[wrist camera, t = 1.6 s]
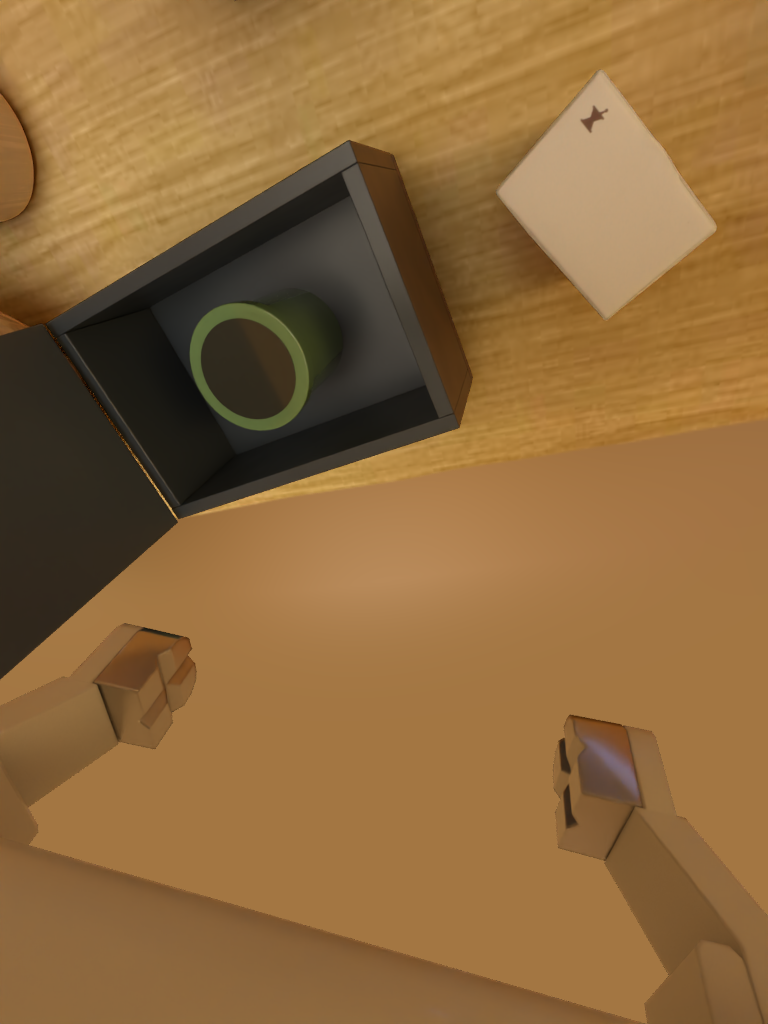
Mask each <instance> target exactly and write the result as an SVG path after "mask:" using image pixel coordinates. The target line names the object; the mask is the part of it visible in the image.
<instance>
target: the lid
mask: <svg viewBox="0 0 768 1024" xmlns="http://www.w3.org/2000/svg"><path fill="white" fill-rule="evenodd" d="M176 523H178V522H177V520H176V518H175V517H174V515H173V514H172V513H171V511H170V510H169V508H168V507H167V505H166V504H165V502H164V501H163V499H162V498H161V496H160V495H159V494H158V492H157V491H156V489H155V488H154V486H153V485H152V483H151V482H150V480H149V479H148V477H147V476H146V475H145V473H144V472H143V470H142V469H141V467H140V466H139V464H138V463H137V461H136V460H135V458H134V457H133V456H132V454H131V453H130V451H129V450H128V448H127V447H126V445H125V444H124V442H123V441H122V439H121V438H120V436H119V435H118V434H117V432H116V431H115V429H114V428H113V426H112V425H111V423H110V422H109V420H108V419H107V417H106V416H105V415H104V413H103V412H102V410H101V409H100V407H99V406H98V404H97V403H96V401H95V400H94V398H93V397H92V396H91V394H90V393H89V391H88V390H87V388H86V387H85V385H84V384H83V382H82V381H81V379H80V378H79V377H78V375H77V374H76V372H75V371H74V369H73V368H72V366H71V365H70V363H69V362H68V360H67V359H66V358H65V356H64V355H63V353H62V352H61V350H60V349H59V347H58V346H57V344H56V343H55V341H54V340H53V339H52V337H51V336H50V334H49V333H48V331H47V330H46V328H45V327H44V325H43V324H38V325H35V326H31V327H28V328H24V329H21V330H17V331H14V332H11V333H7V334H4V335H0V679H1V678H3V676H4V675H6V674H7V673H8V672H9V671H10V670H12V669H13V668H14V667H15V666H16V665H17V664H18V663H19V662H21V661H22V660H23V659H24V658H25V657H26V656H27V655H29V654H30V653H31V652H32V651H33V650H34V649H35V648H36V647H38V646H39V645H40V644H41V643H42V642H43V641H44V640H45V639H46V638H48V637H49V636H50V635H51V634H52V633H53V632H55V631H56V630H57V629H58V628H59V627H60V626H61V625H62V624H63V623H64V622H66V621H67V620H68V619H69V618H70V617H71V616H73V615H74V614H75V613H76V612H77V611H78V610H79V609H81V608H82V607H83V606H84V605H85V604H86V603H87V602H88V601H89V600H91V599H92V598H93V597H94V596H95V595H96V594H97V593H99V592H100V591H101V590H102V589H103V588H104V587H105V586H106V585H108V584H109V583H110V582H111V581H112V580H113V579H114V578H115V577H117V576H118V575H119V574H120V573H121V572H122V571H123V570H125V569H126V568H127V567H128V566H129V565H130V564H131V563H132V562H134V561H135V560H136V559H137V558H138V557H139V556H140V555H142V554H143V553H144V552H145V551H146V550H147V549H148V548H149V547H151V545H153V544H154V543H155V542H156V541H157V540H158V539H160V538H161V537H162V536H163V535H164V534H165V533H166V532H167V531H169V530H170V529H171V528H172V527H173V526H174V525H175V524H176Z"/></svg>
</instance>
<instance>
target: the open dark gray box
mask: <svg viewBox="0 0 768 1024" xmlns="http://www.w3.org/2000/svg"><path fill="white" fill-rule="evenodd" d="M285 288H297V289H302V290H305V291H308V292H310V293H312V294H314V295H316V296H317V297H319V298H320V299H321V300H322V301H324V302H325V303H326V304H327V305H328V307H329V308H330V309H331V310H332V312H333V313H334V315H335V317H336V319H337V320H338V323H339V325H340V328H341V332H342V338H343V351H342V356H341V360H340V362H339V365H338V367H337V368H336V370H335V371H334V373H333V374H332V375H331V376H330V377H329V378H328V379H327V380H326V381H325V382H324V383H323V384H322V385H320V386H319V387H318V388H317V389H316V390H315V391H314V392H313V393H312V394H311V395H310V398H309V400H308V402H307V404H306V406H305V407H304V408H303V410H302V411H301V412H300V413H299V414H298V415H297V416H296V417H295V418H294V419H293V420H292V421H290V422H289V423H287V424H286V425H284V426H282V427H280V428H276V429H273V430H265V431H258V430H251V429H247V428H243V427H240V426H238V425H236V424H234V423H232V422H230V421H228V420H227V419H225V418H224V417H222V416H221V415H220V414H219V413H217V412H216V411H215V410H214V409H213V408H212V407H211V406H210V405H209V403H208V402H207V401H206V400H205V398H204V397H203V395H202V394H201V392H200V390H199V388H198V386H197V384H196V382H195V379H194V377H193V373H192V370H191V364H190V343H191V339H192V335H193V333H194V330H195V328H196V326H197V324H198V323H199V321H200V320H201V319H202V318H203V316H204V315H206V314H207V313H208V312H209V311H211V310H212V309H214V308H216V307H218V306H220V305H223V304H226V303H229V302H233V301H241V300H246V301H252V300H254V299H257V298H260V297H262V296H265V295H267V294H270V293H272V292H275V291H278V290H281V289H285ZM46 325H47V327H48V328H49V330H50V331H51V333H52V334H53V336H54V337H55V338H57V341H58V342H59V344H60V345H61V347H62V348H63V350H64V351H65V353H66V354H67V356H68V357H69V359H70V360H71V362H72V363H73V364H74V366H75V367H76V369H77V370H78V372H79V373H80V375H81V376H82V378H83V379H84V381H85V382H86V384H87V385H88V386H89V388H90V389H91V391H92V392H93V394H94V395H95V397H96V398H97V400H98V401H99V403H100V404H101V406H102V407H103V408H104V410H105V411H106V413H107V414H108V416H109V417H110V419H111V420H112V422H113V423H114V425H115V426H116V428H117V429H118V431H119V432H120V433H121V435H122V436H123V438H124V439H125V441H126V442H127V444H128V445H129V447H130V448H131V450H132V451H133V453H134V454H135V455H136V457H137V458H138V460H139V461H140V463H141V464H142V466H143V467H144V469H145V470H146V472H147V473H148V475H149V476H150V477H151V479H152V480H153V482H154V483H155V485H156V486H157V488H158V489H159V491H160V492H161V494H162V495H163V497H164V498H165V500H166V501H167V502H168V504H169V505H170V507H171V508H172V510H173V512H174V513H175V515H176V516H177V518H178V519H181V518H184V517H187V516H190V515H193V514H196V513H199V512H202V511H205V510H208V509H211V508H215V507H218V506H221V505H224V504H227V503H230V502H233V501H236V500H239V499H242V498H245V497H248V496H251V495H255V494H258V493H261V492H264V491H267V490H270V489H273V488H276V487H279V486H282V485H285V484H288V483H291V482H294V481H298V480H301V479H304V478H307V477H310V476H313V475H316V474H319V473H322V472H325V471H328V470H331V469H334V468H338V467H341V466H344V465H347V464H350V463H353V462H356V461H359V460H362V459H365V458H368V457H371V456H374V455H378V454H381V453H384V452H387V451H390V450H393V449H396V448H399V447H402V446H405V445H408V444H411V443H414V442H418V441H421V440H424V439H427V438H430V437H433V436H436V435H439V434H442V433H445V432H448V431H451V430H454V429H457V428H460V424H461V420H462V417H463V413H464V409H465V406H466V402H467V398H468V394H469V391H470V387H471V383H472V378H473V377H472V374H471V371H470V368H469V365H468V363H467V360H466V357H465V354H464V351H463V349H462V346H461V343H460V340H459V337H458V335H457V332H456V329H455V326H454V323H453V321H452V318H451V315H450V312H449V309H448V307H447V304H446V301H445V298H444V295H443V293H442V290H441V287H440V284H439V281H438V279H437V276H436V273H435V270H434V267H433V265H432V262H431V259H430V256H429V253H428V251H427V248H426V245H425V242H424V239H423V237H422V234H421V231H420V228H419V225H418V223H417V220H416V217H415V214H414V211H413V209H412V206H411V203H410V200H409V197H408V195H407V192H406V189H405V186H404V183H403V181H402V178H401V175H400V172H399V169H398V167H397V164H396V161H395V158H394V156H393V155H392V154H390V153H387V152H384V151H381V150H378V149H375V148H372V147H369V146H366V145H362V144H359V143H356V142H353V141H350V140H348V141H346V142H345V143H343V144H341V145H340V146H338V147H336V148H335V149H333V150H332V151H330V152H328V153H327V154H325V155H323V156H322V157H320V158H318V159H317V160H315V161H313V162H312V163H310V164H308V165H307V166H305V167H303V168H302V169H300V170H299V171H297V172H295V173H294V174H292V175H290V176H289V177H287V178H285V179H284V180H282V181H280V182H279V183H277V184H275V185H274V186H272V187H270V188H269V189H267V190H266V191H264V192H262V193H261V194H259V195H257V196H256V197H254V198H252V199H251V200H249V201H247V202H246V203H244V204H242V205H241V206H239V207H237V208H236V209H234V210H233V211H231V212H229V213H228V214H226V215H224V216H223V217H221V218H219V219H218V220H216V221H214V222H213V223H211V224H209V225H208V226H206V227H204V228H203V229H201V230H200V231H198V232H196V233H195V234H193V235H191V236H190V237H188V238H186V239H185V240H183V241H181V242H180V243H178V244H176V245H175V246H173V247H171V248H170V249H168V250H167V251H165V252H163V253H162V254H160V255H158V256H157V257H155V258H153V259H152V260H150V261H148V262H147V263H145V264H143V265H142V266H140V267H138V268H137V269H135V270H134V271H132V272H130V273H129V274H127V275H125V276H124V277H122V278H120V279H119V280H117V281H115V282H114V283H112V284H110V285H109V286H107V287H105V288H104V289H102V290H101V291H99V292H97V293H96V294H94V295H92V296H91V297H89V298H87V299H86V300H84V301H82V302H81V303H79V304H77V305H76V306H74V307H72V308H71V309H69V310H68V311H66V312H64V313H63V314H61V315H59V316H58V317H56V318H54V319H53V320H51V321H49V322H48V323H46Z"/></svg>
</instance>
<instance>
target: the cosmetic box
mask: <svg viewBox="0 0 768 1024" xmlns="http://www.w3.org/2000/svg"><path fill="white" fill-rule="evenodd" d="M496 195H497V196H498V197H499V198H500V200H501V201H502V202H503V203H504V205H505V206H506V207H507V208H508V210H509V211H510V212H511V214H512V215H513V216H514V217H515V219H516V220H517V221H518V222H519V224H520V225H521V226H522V227H523V228H524V230H525V231H526V232H527V233H528V234H529V236H530V237H531V238H532V239H533V240H534V241H535V242H536V243H537V245H538V246H539V247H540V248H541V249H542V250H543V251H544V252H545V254H546V255H547V256H548V257H549V258H550V259H551V260H552V261H553V263H554V264H555V265H556V266H557V267H558V268H559V269H560V270H561V271H562V273H563V274H564V275H565V276H566V277H567V278H568V280H569V281H570V282H571V283H572V284H573V285H574V286H575V287H576V288H577V290H578V291H579V292H580V293H581V294H582V295H583V296H584V298H585V299H586V300H587V301H588V302H589V303H590V304H591V305H592V307H593V308H594V309H595V310H596V311H597V312H598V314H599V315H600V316H601V317H602V318H603V319H604V320H608V319H610V318H611V317H612V316H613V315H614V314H616V313H617V312H618V311H619V310H621V309H622V308H623V307H624V306H626V305H627V304H628V303H629V302H631V301H632V300H633V299H634V298H635V297H637V296H638V295H639V294H640V293H642V292H643V291H644V290H645V289H646V288H648V287H649V286H650V285H651V284H653V283H654V282H655V281H656V280H657V279H659V278H660V277H661V276H662V275H664V274H665V273H666V272H667V271H669V270H670V269H671V268H672V267H674V266H675V265H676V264H677V263H679V262H680V261H681V260H682V259H683V258H685V257H686V256H687V255H688V254H689V253H691V252H692V251H693V250H694V249H695V248H697V247H698V246H699V245H700V244H701V243H703V242H704V241H705V240H706V239H708V238H709V237H710V236H711V235H713V234H714V233H715V232H716V229H717V226H716V223H715V221H714V220H713V218H712V217H711V216H710V214H709V213H708V212H707V210H706V209H705V208H704V206H703V205H702V204H701V202H700V201H699V200H698V198H697V197H696V195H695V194H694V193H693V191H692V190H691V188H690V187H689V186H688V184H687V183H686V181H685V180H684V179H683V177H682V176H681V174H680V173H679V172H678V170H677V169H676V167H675V165H674V163H673V162H672V160H671V158H670V157H669V155H668V154H667V152H666V151H665V149H664V148H663V147H662V145H661V144H660V143H659V142H658V141H657V140H656V139H655V137H654V136H653V135H652V134H651V132H650V131H649V130H648V128H647V127H646V125H645V124H644V123H643V122H642V120H641V119H640V118H639V116H638V115H637V114H636V112H635V111H634V110H633V108H632V107H631V106H630V104H629V103H628V102H627V100H626V99H625V98H624V96H623V95H622V94H621V92H620V91H619V90H618V88H617V87H616V86H615V84H614V83H613V82H612V81H611V79H610V78H609V77H608V75H607V74H606V73H605V72H604V71H603V70H598V71H596V73H595V74H594V75H593V76H592V77H591V78H590V80H589V81H588V82H587V83H586V84H585V86H584V87H583V88H582V89H581V90H580V91H579V93H578V94H577V95H576V96H575V97H574V99H573V100H572V101H571V102H570V103H569V104H568V106H567V107H566V108H565V109H564V110H563V111H562V113H561V114H560V115H559V116H558V117H557V118H556V120H555V121H554V122H553V123H552V124H551V125H550V127H549V128H548V129H547V130H546V131H545V132H544V134H543V135H542V136H541V137H540V138H539V139H538V141H537V142H536V143H535V144H534V145H533V146H532V148H531V149H530V150H529V151H528V152H527V153H526V155H525V156H524V157H523V158H522V159H521V160H520V162H519V163H518V164H517V165H516V166H515V167H514V169H513V170H512V171H511V172H510V173H509V174H508V176H507V177H506V178H505V179H504V180H503V182H502V183H501V184H500V185H499V186H498V188H497V190H496Z"/></svg>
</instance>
